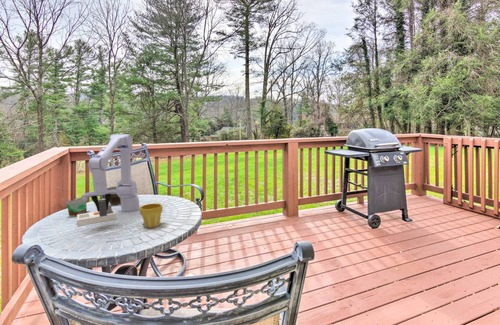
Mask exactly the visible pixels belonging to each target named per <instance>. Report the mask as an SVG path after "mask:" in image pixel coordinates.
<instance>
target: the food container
mask: <svg viewBox="0 0 500 325" xmlns="http://www.w3.org/2000/svg"><path fill="white" fill-rule="evenodd" d="M88 200H89V199H88V198H83V194H82V196H81V197H77V198H73V199H72V200H66V201H65V205H66V208H67V210H68V216H69V217H71V218H72V217H77V215H78V214H84V213H88V211H87V202H88Z"/></svg>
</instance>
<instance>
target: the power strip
mask: <svg viewBox="0 0 500 325" xmlns="http://www.w3.org/2000/svg"><path fill="white" fill-rule="evenodd" d="M76 218H77V226H78V227H81V226H87V225H92V224H97V223H99V224H100V223H104V222H108V221H116V220H117V213H116V211H115V209H114V208H112V213H110V214H107V216H101V217H100V215H99V212H98V211H97V210H96V211H93V212H91V211H90V212H87V213H84V214H78V215H77V216H76Z"/></svg>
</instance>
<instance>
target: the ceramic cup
mask: <svg viewBox="0 0 500 325" xmlns="http://www.w3.org/2000/svg"><path fill="white" fill-rule="evenodd" d="M116 188H117V186H111V187H107V190H113V189H116ZM102 197H104V198H105V195H103V196H102ZM109 203H110V204H111V206H119V205H121V200H120V197H119V196H118V195H117V194H111V199H110V201H109Z"/></svg>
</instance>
